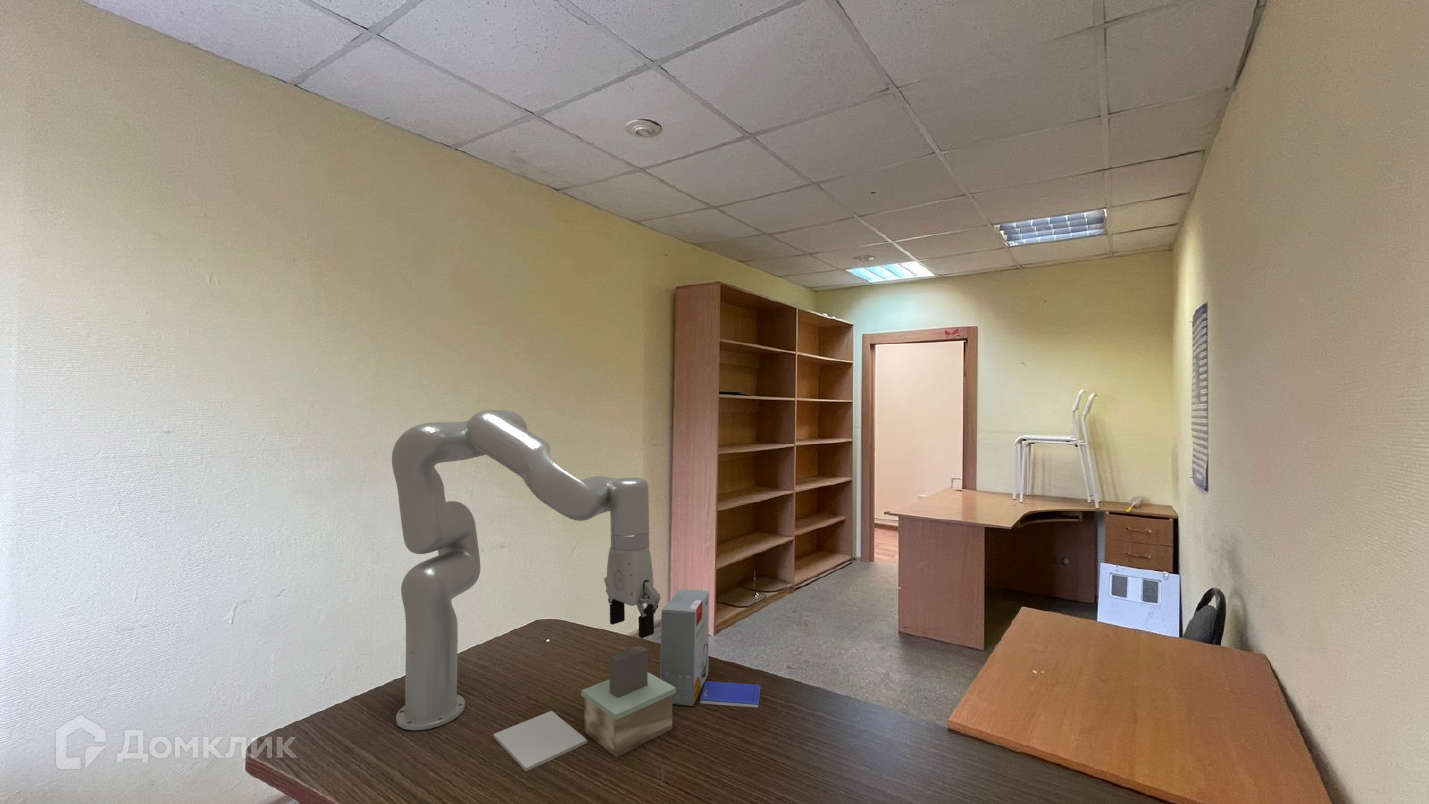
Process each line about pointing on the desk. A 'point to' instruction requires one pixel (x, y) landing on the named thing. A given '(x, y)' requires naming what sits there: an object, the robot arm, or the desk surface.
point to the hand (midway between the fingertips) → (631, 629)
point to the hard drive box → (685, 644)
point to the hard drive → (730, 694)
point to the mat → (539, 740)
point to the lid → (628, 685)
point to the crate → (628, 726)
